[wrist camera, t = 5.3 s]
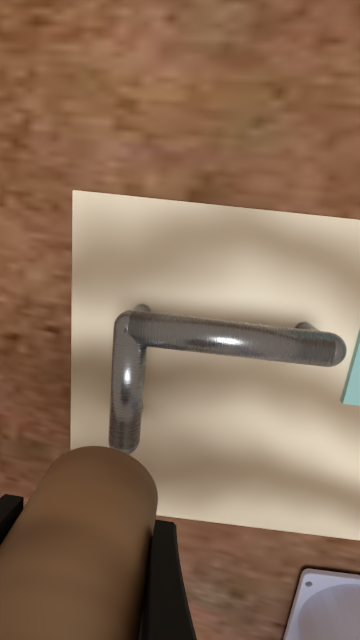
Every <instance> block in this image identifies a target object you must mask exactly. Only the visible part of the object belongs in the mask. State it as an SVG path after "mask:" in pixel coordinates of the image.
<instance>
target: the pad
mask: <svg viewBox="0 0 360 640" xmlns="http://www.w3.org/2000/svg"><path fill="white" fill-rule="evenodd" d="M341 402H342V403H343V404H349V405H358V406H360V330H359V334H358V338H357V342H356V345H355V349H354V353H353V356H352V360H351V364H350V367H349V371H348V375H347V379H346V382H345V386H344V390H343V393H342V397H341Z"/></svg>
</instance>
